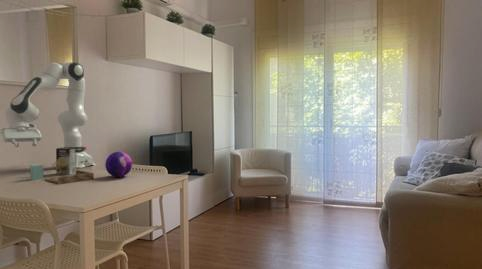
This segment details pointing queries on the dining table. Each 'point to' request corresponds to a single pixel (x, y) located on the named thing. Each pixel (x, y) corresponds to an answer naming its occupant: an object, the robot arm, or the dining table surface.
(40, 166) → the teal block
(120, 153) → the decorative orb
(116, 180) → the dining table surface
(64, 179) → the tray
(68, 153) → the coffee box
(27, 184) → the dining table surface
